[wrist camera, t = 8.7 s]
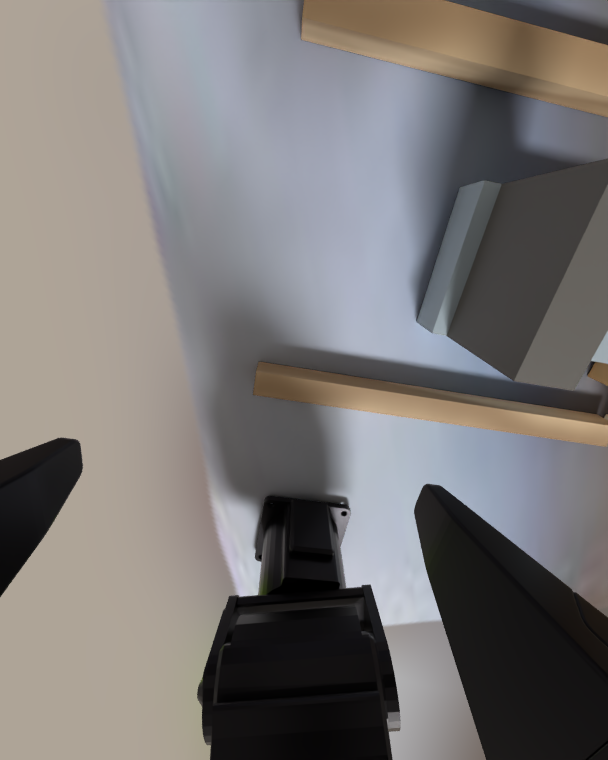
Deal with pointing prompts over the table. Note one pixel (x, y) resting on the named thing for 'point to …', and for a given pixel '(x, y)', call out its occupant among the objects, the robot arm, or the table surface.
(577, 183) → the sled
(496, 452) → the table surface
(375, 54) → the rails
